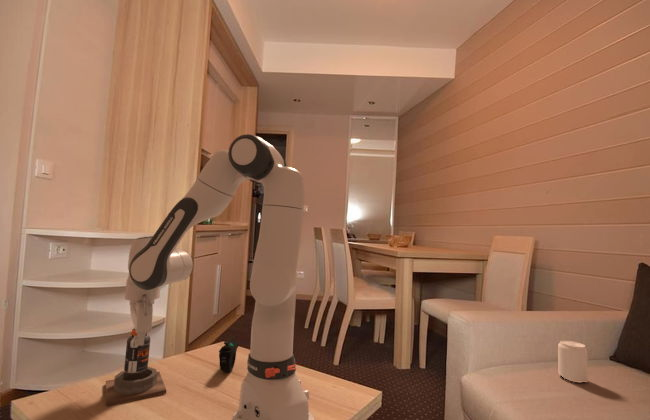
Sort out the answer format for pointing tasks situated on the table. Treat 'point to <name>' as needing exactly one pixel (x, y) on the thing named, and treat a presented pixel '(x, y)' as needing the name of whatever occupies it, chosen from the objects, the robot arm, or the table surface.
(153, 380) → the holder
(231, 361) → the controller
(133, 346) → the pill bottle
